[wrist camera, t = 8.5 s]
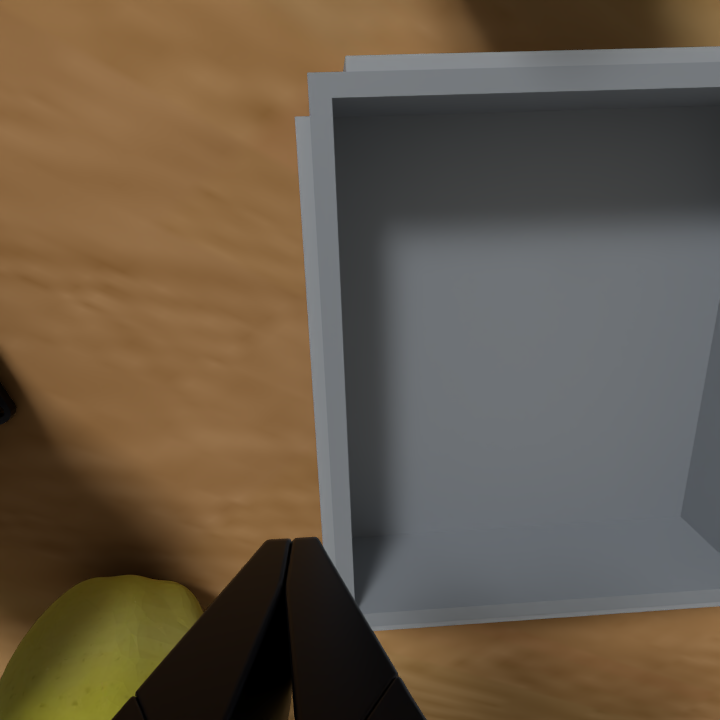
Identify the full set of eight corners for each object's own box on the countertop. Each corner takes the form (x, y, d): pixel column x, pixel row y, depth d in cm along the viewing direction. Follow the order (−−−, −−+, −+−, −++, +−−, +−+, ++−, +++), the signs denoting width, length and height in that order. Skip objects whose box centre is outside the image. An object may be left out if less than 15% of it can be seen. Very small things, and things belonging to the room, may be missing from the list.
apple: (118, 696, 26) (0, 986, 17) (27, 574, 24) (-171, 832, 14) (267, 643, 26) (231, 911, 16) (189, 512, 23) (95, 738, 14)
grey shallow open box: (328, 549, 24) (328, 638, 20) (299, 88, 18) (290, 55, 14) (681, 526, 25) (764, 607, 20) (763, 75, 19) (907, 40, 14)
